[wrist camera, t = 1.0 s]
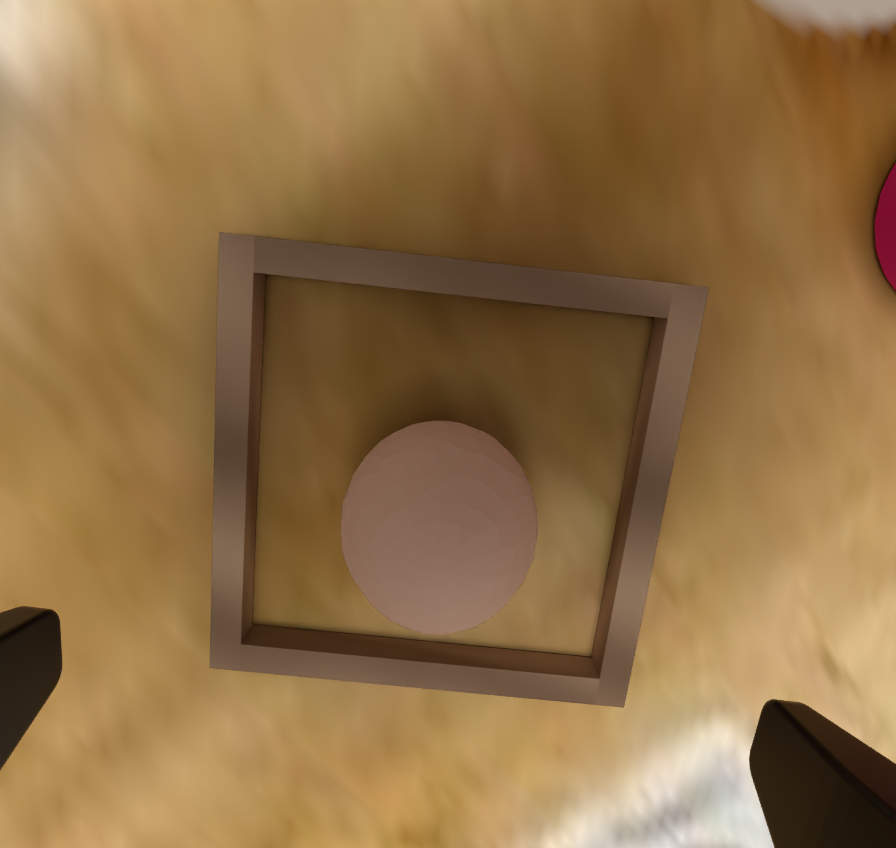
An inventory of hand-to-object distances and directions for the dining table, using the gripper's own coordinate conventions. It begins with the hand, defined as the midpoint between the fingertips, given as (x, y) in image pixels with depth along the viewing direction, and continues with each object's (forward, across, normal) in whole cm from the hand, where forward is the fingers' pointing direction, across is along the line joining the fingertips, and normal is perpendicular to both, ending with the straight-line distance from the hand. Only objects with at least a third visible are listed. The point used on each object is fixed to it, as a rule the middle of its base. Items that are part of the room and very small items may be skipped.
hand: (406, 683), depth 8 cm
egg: (+13, 0, +2) cm, 13 cm away
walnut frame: (+12, 0, +2) cm, 13 cm away
